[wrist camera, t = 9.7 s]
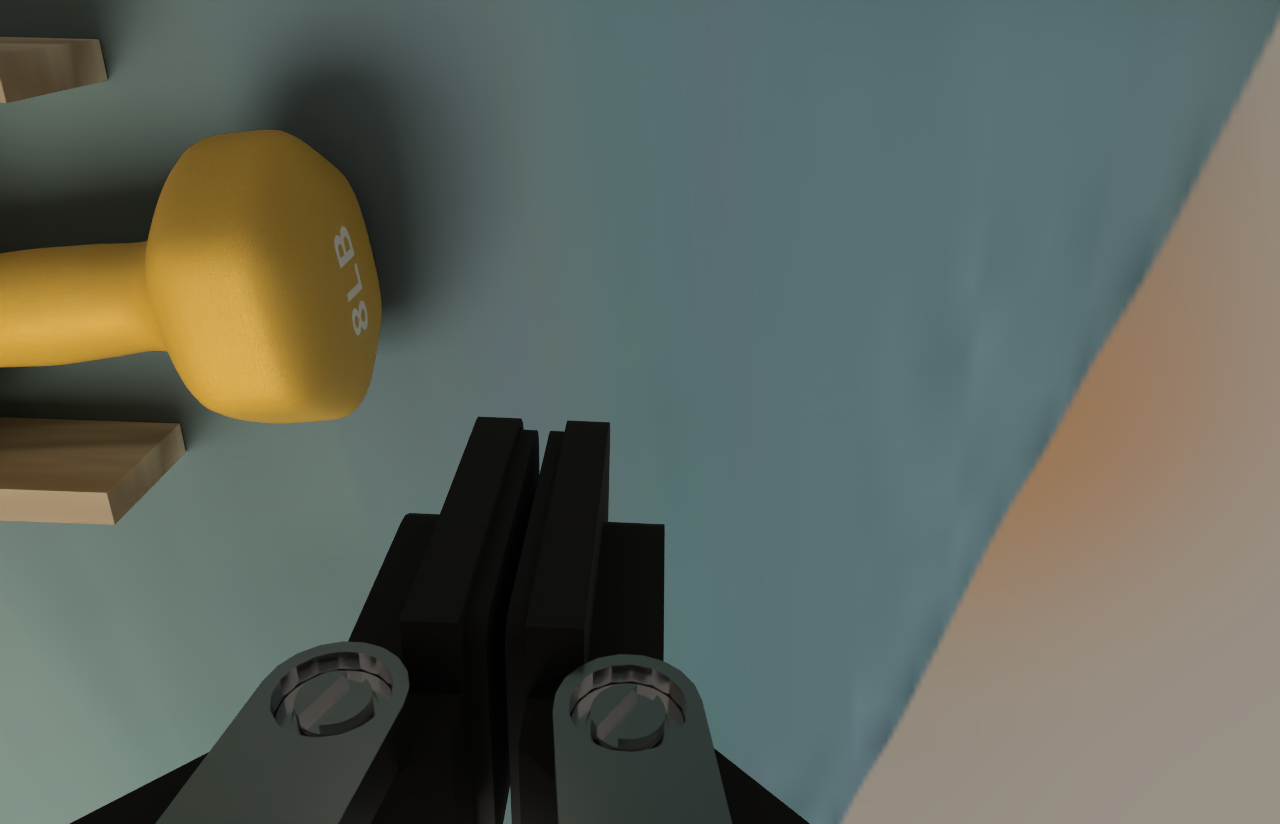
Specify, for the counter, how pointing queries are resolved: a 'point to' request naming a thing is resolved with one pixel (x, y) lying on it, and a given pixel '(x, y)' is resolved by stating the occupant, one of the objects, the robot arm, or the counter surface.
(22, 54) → the display bracket
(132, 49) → the counter surface
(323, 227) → the dumbbell
